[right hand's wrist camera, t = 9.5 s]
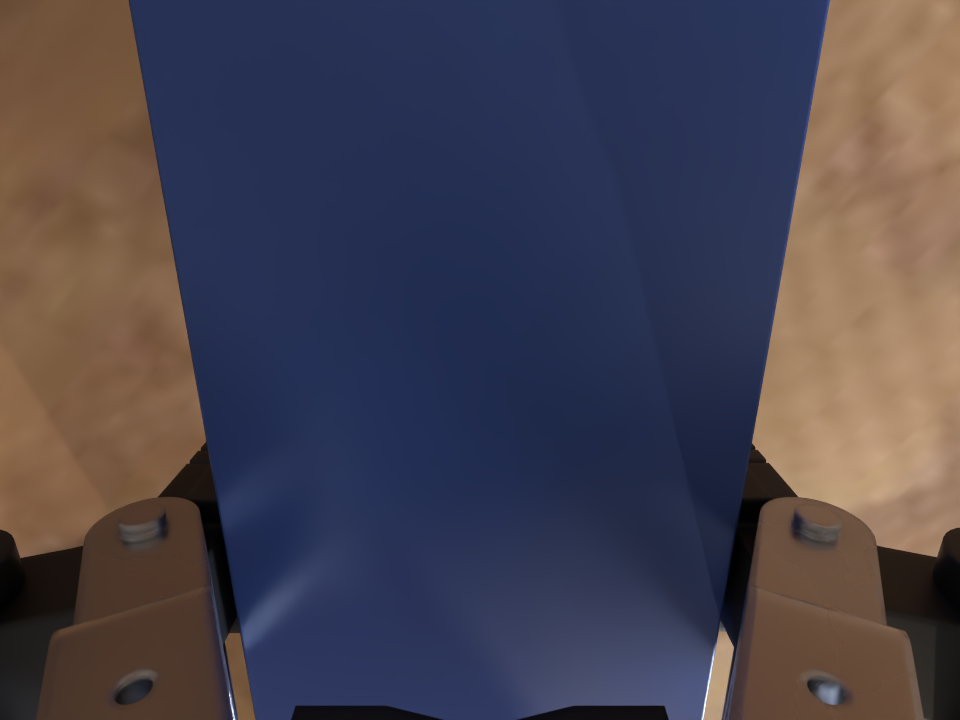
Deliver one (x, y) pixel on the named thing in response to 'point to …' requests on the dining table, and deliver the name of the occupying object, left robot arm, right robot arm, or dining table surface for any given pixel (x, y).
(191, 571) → the right robot arm
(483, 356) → the box
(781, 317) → the dining table surface
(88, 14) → the dining table surface
